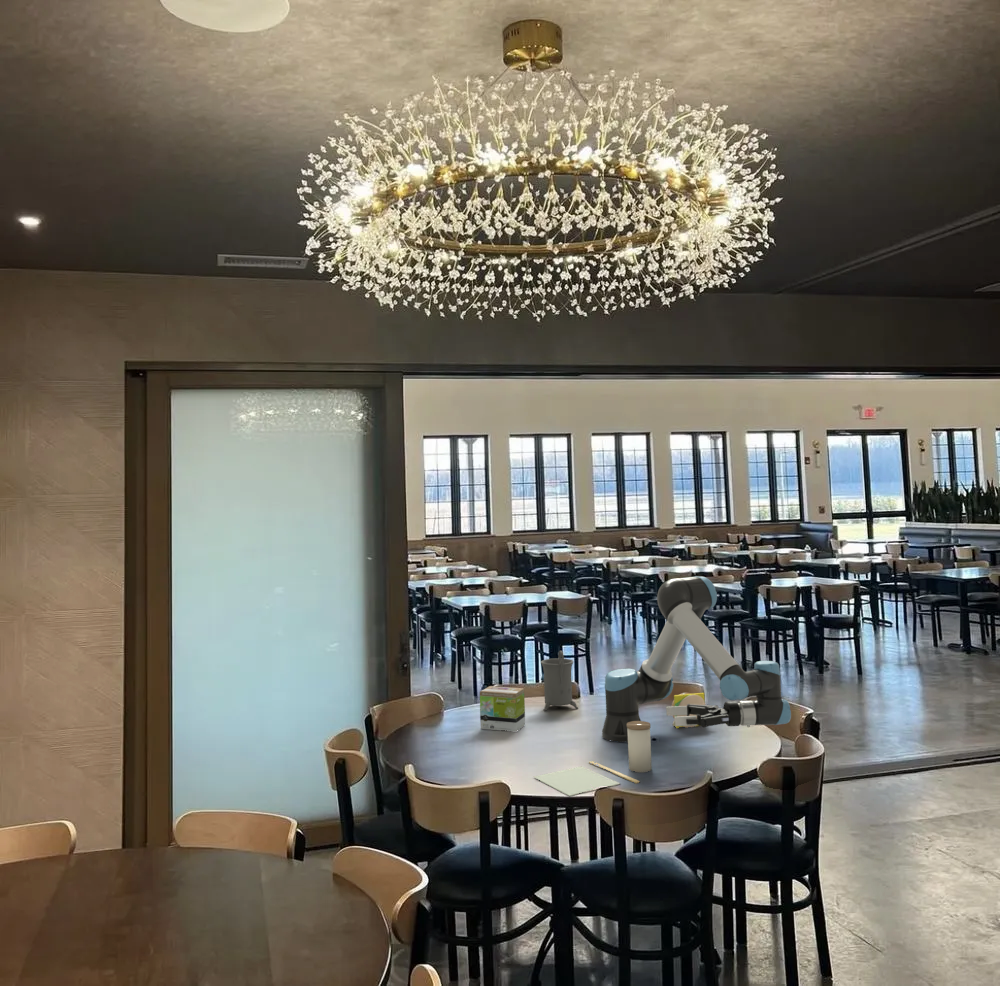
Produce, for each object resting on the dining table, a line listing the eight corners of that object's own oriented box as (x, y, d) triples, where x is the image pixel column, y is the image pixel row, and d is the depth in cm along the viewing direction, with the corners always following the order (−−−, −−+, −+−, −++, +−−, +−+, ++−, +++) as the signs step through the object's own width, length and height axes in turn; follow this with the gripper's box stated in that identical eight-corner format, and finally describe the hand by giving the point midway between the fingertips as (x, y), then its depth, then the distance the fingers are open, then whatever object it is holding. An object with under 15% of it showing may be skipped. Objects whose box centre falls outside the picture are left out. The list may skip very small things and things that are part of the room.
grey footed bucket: (537, 704, 341) (534, 646, 342) (570, 702, 344) (568, 643, 344) (547, 715, 323) (544, 652, 323) (582, 712, 325) (580, 650, 326)
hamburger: (697, 721, 305) (696, 689, 305) (708, 726, 297) (707, 694, 297) (669, 724, 302) (667, 692, 302) (678, 729, 294) (677, 697, 294)
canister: (623, 768, 252) (621, 723, 252) (642, 763, 255) (640, 719, 256) (638, 774, 245) (636, 728, 246) (657, 769, 249) (655, 724, 249)
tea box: (479, 730, 303) (478, 690, 304) (490, 723, 313) (488, 685, 313) (516, 732, 298) (515, 692, 298) (526, 725, 307) (524, 687, 308)
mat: (533, 777, 245) (533, 776, 245) (581, 767, 254) (581, 766, 254) (569, 796, 228) (569, 795, 228) (620, 784, 236) (620, 783, 236)
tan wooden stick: (588, 763, 258) (588, 761, 258) (592, 762, 258) (592, 761, 259) (635, 783, 237) (635, 782, 237) (639, 782, 237) (639, 781, 238)
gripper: (751, 735, 237) (679, 738, 237) (728, 716, 262) (664, 718, 262) (749, 710, 237) (678, 713, 238) (727, 693, 262) (662, 695, 263)
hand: (670, 716), depth 250 cm, fingers open, 13 cm apart
